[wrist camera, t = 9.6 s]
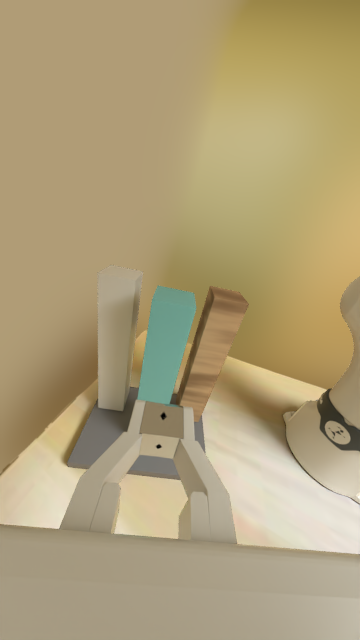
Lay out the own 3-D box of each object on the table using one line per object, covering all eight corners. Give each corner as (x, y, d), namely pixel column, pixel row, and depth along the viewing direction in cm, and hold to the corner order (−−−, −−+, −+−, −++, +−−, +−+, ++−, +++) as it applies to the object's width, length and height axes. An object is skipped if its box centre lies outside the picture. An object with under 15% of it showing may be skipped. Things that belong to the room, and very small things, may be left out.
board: (205, 482, 31) (207, 478, 31) (67, 466, 29) (67, 462, 29) (198, 401, 45) (200, 397, 45) (105, 387, 43) (105, 383, 43)
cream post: (122, 411, 37) (135, 280, 24) (98, 407, 37) (97, 272, 24) (129, 391, 42) (142, 271, 29) (107, 387, 41) (110, 264, 28)
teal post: (158, 443, 34) (196, 308, 20) (131, 439, 33) (152, 299, 20) (161, 417, 38) (193, 293, 25) (137, 413, 37) (157, 285, 24)
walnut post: (198, 422, 39) (248, 304, 26) (175, 418, 38) (214, 297, 25) (196, 401, 43) (239, 292, 30) (176, 398, 43) (210, 285, 30)
